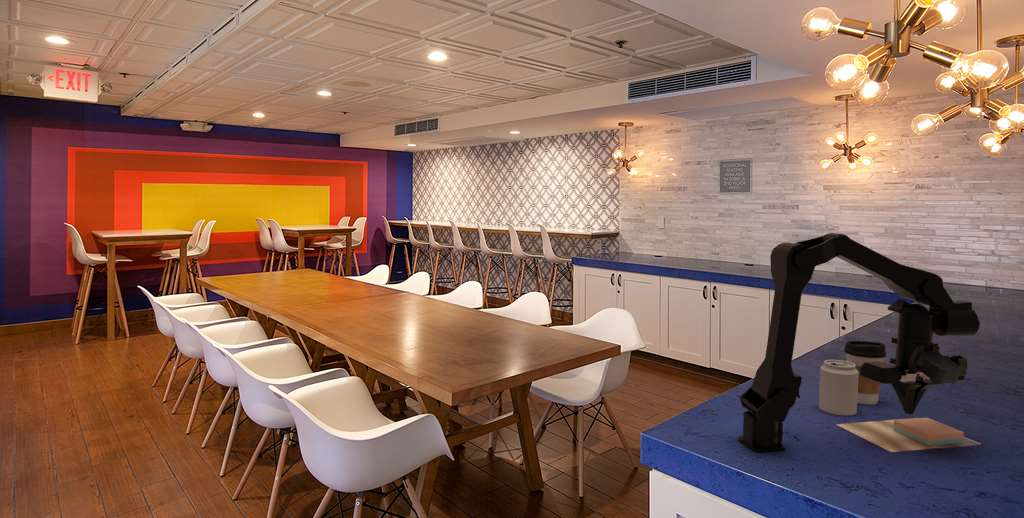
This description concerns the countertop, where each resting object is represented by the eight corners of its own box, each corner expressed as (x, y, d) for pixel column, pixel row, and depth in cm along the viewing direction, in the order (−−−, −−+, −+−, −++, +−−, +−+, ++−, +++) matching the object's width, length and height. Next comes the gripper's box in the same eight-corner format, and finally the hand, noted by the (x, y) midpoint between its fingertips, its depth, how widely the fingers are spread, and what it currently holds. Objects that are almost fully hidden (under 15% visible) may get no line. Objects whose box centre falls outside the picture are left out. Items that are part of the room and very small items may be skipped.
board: (893, 459, 107) (893, 452, 107) (835, 429, 121) (836, 423, 121) (983, 450, 111) (983, 444, 111) (917, 423, 125) (917, 417, 125)
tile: (928, 435, 110) (963, 432, 111) (893, 420, 118) (927, 417, 119) (928, 445, 110) (963, 442, 112) (893, 429, 118) (926, 427, 119)
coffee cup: (876, 413, 131) (879, 348, 130) (835, 404, 137) (839, 342, 136) (888, 405, 136) (891, 342, 135) (849, 396, 143) (852, 336, 141)
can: (822, 406, 136) (824, 356, 135) (859, 413, 131) (861, 361, 130) (814, 415, 130) (817, 362, 129) (853, 423, 125) (856, 368, 124)
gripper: (909, 346, 103) (903, 432, 104) (996, 343, 106) (988, 426, 108) (860, 333, 114) (855, 410, 115) (940, 330, 117) (934, 406, 118)
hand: (908, 413), depth 114 cm, fingers closed
